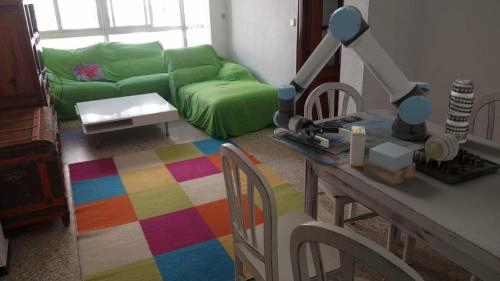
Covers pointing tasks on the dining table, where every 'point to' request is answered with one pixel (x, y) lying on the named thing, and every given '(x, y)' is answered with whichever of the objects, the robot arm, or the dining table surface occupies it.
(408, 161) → the tower top block
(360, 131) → the supplement box
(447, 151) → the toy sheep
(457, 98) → the decorative candle
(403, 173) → the tower base block
